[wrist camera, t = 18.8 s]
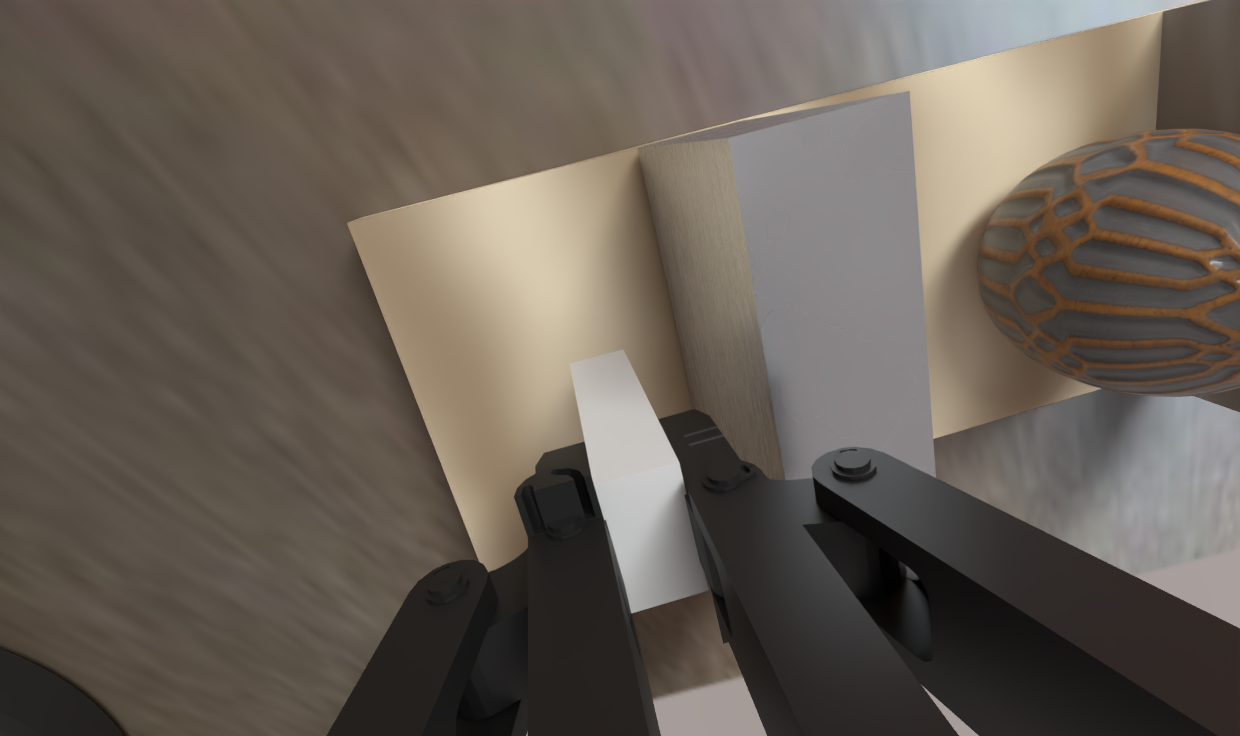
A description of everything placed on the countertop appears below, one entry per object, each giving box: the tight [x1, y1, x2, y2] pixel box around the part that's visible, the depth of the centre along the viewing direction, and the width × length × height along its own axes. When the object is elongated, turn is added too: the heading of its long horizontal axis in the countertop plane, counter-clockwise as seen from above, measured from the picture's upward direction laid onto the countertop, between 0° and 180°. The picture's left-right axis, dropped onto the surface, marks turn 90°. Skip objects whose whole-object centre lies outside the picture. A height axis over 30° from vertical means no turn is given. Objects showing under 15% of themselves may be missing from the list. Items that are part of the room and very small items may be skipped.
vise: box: [347, 0, 1240, 572], centre depth 17 cm, size 28×12×10 cm, turn 103°
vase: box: [977, 129, 1240, 397], centre depth 16 cm, size 7×7×9 cm
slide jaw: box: [637, 91, 936, 480], centre depth 15 cm, size 3×12×8 cm, turn 13°
